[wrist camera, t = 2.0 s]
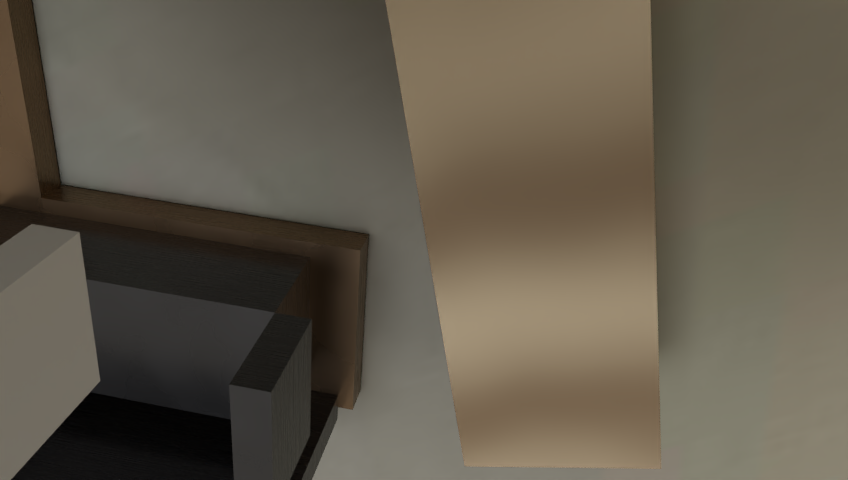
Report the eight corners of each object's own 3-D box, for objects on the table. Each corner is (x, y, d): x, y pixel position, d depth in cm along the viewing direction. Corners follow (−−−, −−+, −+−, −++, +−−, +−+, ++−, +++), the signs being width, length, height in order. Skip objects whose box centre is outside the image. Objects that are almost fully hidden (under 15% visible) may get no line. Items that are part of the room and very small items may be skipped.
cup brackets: (-164, -464, 17) (-570, -624, 11) (405, -433, 16) (292, -598, 10) (10, 335, 28) (-151, 477, 22) (359, 401, 26) (292, 573, 20)
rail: (404, -215, 18) (346, -228, 13) (627, -258, 17) (643, -289, 12) (485, 355, 25) (464, 466, 20) (646, 351, 24) (661, 468, 19)
